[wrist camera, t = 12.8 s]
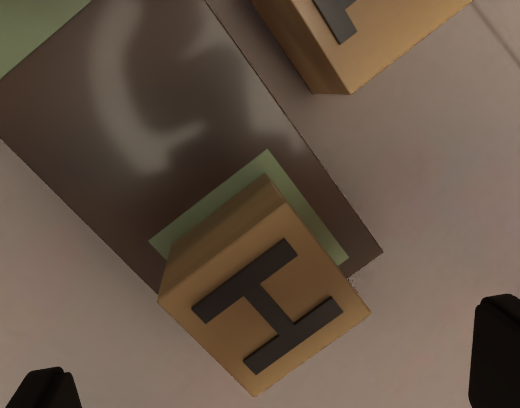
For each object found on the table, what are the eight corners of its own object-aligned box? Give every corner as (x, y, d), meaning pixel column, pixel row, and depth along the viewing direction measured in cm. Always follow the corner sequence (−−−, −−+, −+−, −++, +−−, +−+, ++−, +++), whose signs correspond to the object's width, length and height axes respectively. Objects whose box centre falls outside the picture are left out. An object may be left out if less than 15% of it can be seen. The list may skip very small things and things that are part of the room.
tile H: (170, 244, 16) (154, 304, 11) (265, 171, 15) (287, 203, 11) (243, 323, 17) (254, 403, 13) (332, 257, 17) (375, 317, 12)
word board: (-193, -73, 12) (-230, -88, 11) (11, -266, 12) (-8, -301, 11) (227, 351, 19) (228, 367, 18) (374, 243, 18) (384, 253, 17)
